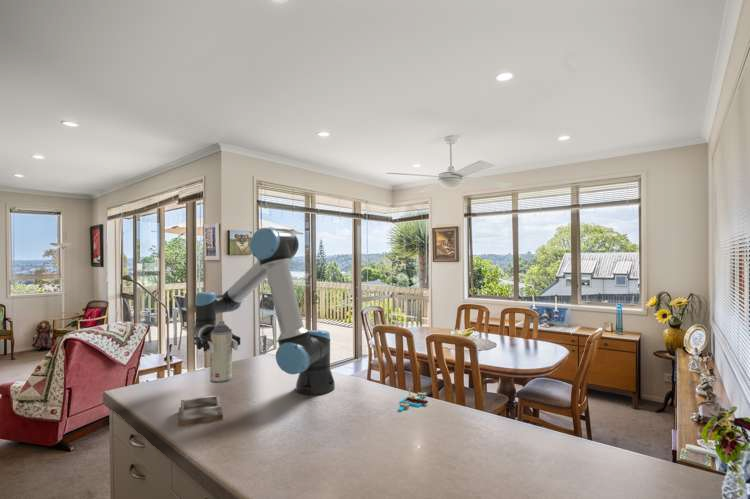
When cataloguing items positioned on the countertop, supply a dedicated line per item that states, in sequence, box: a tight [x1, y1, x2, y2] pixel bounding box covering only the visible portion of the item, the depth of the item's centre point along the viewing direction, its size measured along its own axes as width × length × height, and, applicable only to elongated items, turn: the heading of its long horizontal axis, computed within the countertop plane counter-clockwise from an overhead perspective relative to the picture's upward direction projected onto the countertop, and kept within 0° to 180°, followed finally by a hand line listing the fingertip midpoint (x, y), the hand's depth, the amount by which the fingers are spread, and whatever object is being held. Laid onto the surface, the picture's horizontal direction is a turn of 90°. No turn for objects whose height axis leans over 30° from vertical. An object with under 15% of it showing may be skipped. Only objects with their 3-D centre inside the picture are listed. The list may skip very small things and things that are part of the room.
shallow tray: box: [177, 394, 224, 427], centre depth 133 cm, size 13×13×4 cm
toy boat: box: [397, 387, 429, 413], centre depth 144 cm, size 20×5×9 cm
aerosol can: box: [209, 320, 233, 384], centre depth 137 cm, size 7×7×20 cm
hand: (224, 347), depth 133 cm, fingers closed on aerosol can, 7 cm apart
